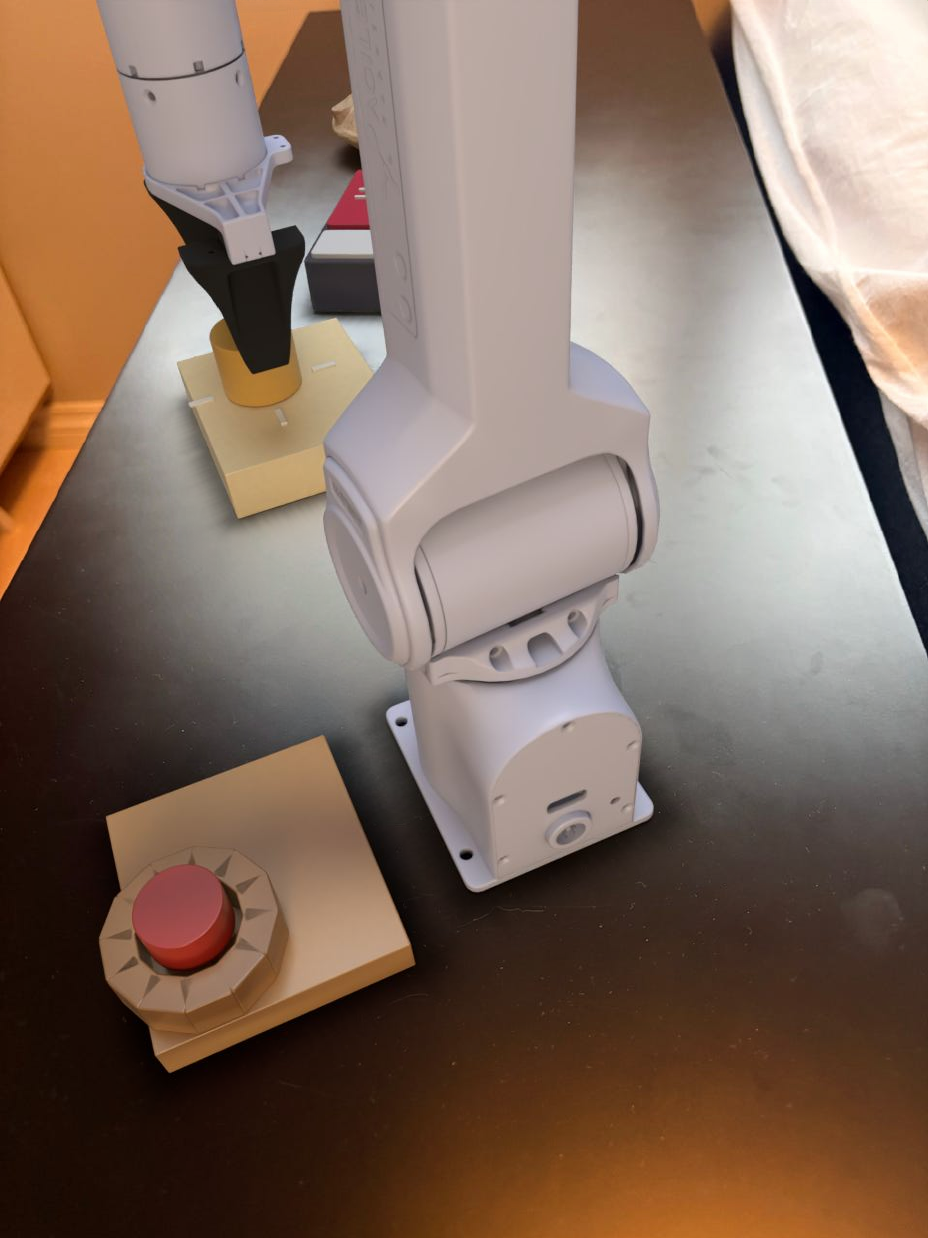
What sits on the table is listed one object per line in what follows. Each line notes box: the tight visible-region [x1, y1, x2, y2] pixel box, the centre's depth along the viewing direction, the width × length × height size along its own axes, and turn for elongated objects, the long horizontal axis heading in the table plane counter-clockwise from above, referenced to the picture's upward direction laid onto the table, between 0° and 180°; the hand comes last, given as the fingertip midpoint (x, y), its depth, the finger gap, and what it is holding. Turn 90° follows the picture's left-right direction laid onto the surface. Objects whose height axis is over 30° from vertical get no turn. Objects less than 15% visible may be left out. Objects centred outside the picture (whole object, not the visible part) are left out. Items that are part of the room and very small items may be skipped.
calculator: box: [303, 169, 381, 313], centre depth 70 cm, size 11×4×15 cm
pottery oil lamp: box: [331, 93, 359, 150], centre depth 83 cm, size 9×12×7 cm
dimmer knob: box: [208, 317, 302, 407], centre depth 55 cm, size 4×4×4 cm
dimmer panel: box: [176, 317, 375, 520], centre depth 57 cm, size 12×10×3 cm
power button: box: [132, 864, 236, 971], centre depth 33 cm, size 3×3×2 cm
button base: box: [98, 734, 416, 1074], centre depth 36 cm, size 10×10×4 cm
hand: (250, 331), depth 54 cm, fingers open, 7 cm apart
